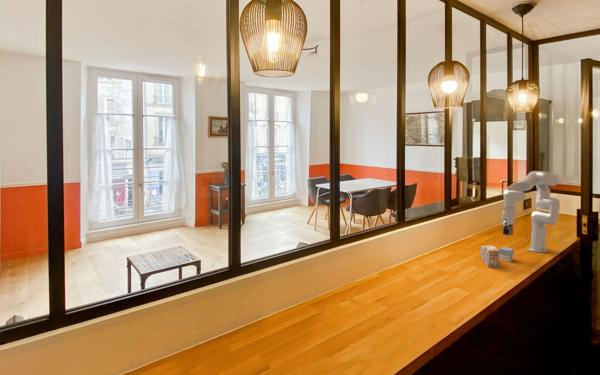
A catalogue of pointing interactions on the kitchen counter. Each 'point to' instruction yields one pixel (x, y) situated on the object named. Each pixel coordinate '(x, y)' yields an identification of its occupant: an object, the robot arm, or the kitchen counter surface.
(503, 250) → the tower top
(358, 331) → the kitchen counter surface
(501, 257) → the tower base
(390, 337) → the kitchen counter surface
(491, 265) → the stack of blocks
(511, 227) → the walnut block
